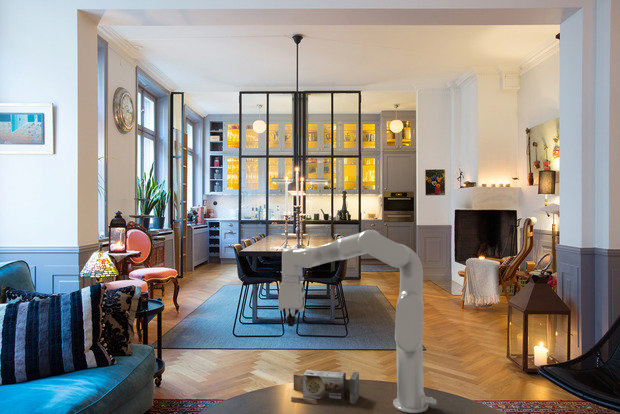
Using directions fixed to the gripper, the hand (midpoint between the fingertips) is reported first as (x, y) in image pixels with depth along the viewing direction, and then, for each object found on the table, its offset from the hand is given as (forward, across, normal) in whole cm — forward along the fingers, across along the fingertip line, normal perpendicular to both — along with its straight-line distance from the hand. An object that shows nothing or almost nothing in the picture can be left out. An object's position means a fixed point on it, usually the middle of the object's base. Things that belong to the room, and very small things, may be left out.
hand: (291, 325), depth 168 cm
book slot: (+27, -12, 0) cm, 30 cm away
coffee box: (+22, -5, -1) cm, 23 cm away
